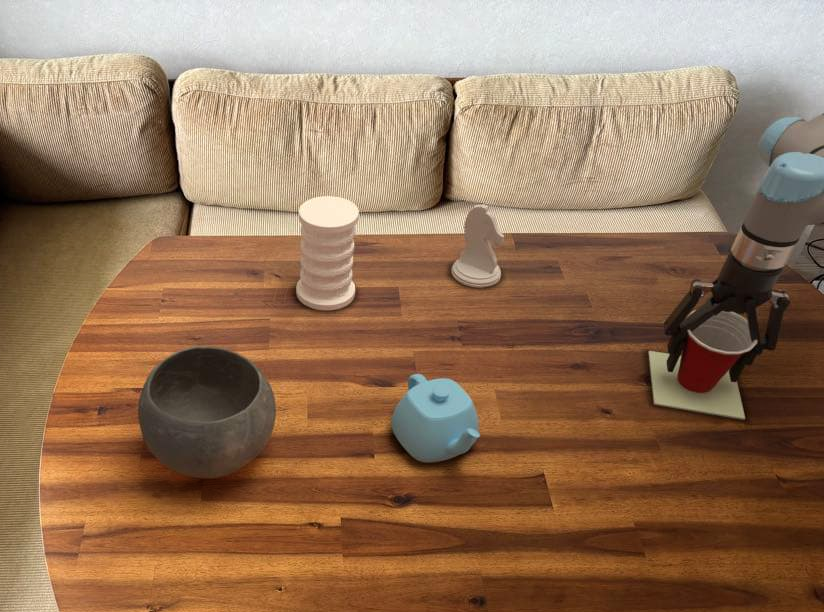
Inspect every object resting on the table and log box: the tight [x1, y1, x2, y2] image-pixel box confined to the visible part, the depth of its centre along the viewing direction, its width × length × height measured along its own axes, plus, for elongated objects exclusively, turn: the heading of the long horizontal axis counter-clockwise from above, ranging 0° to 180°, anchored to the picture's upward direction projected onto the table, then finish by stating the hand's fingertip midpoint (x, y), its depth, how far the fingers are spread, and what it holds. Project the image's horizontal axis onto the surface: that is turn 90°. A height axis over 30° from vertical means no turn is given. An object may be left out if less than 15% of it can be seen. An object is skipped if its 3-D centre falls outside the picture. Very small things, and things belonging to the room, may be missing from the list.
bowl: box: [137, 345, 277, 479], centre depth 116 cm, size 20×20×15 cm
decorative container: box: [295, 195, 360, 311], centre depth 145 cm, size 12×12×18 cm
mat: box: [647, 350, 746, 421], centre depth 132 cm, size 14×14×1 cm
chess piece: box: [450, 203, 505, 289], centre depth 151 cm, size 10×10×15 cm
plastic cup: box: [678, 309, 757, 393], centre depth 127 cm, size 11×11×12 cm
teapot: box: [390, 373, 481, 463], centre depth 119 cm, size 13×11×18 cm
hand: (700, 371), depth 130 cm, fingers closed on plastic cup, 9 cm apart
